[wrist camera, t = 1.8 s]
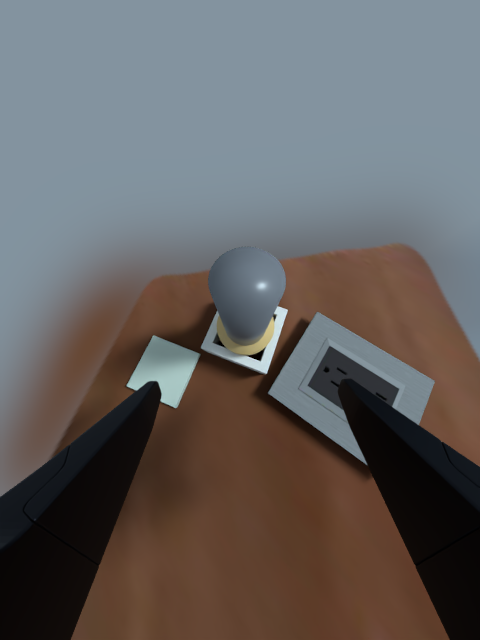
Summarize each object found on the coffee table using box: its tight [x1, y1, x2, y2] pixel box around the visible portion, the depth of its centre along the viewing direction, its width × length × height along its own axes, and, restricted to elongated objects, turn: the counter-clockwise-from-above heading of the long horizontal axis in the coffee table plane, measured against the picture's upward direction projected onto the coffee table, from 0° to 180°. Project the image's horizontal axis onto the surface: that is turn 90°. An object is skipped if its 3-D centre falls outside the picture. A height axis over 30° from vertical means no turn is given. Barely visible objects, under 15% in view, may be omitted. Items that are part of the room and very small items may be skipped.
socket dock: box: [201, 306, 288, 374], centre depth 20 cm, size 7×7×3 cm
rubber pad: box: [127, 335, 201, 408], centre depth 21 cm, size 6×6×1 cm
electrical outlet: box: [268, 312, 435, 465], centre depth 19 cm, size 13×10×2 cm
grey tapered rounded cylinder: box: [208, 247, 286, 355], centre depth 16 cm, size 6×6×13 cm
